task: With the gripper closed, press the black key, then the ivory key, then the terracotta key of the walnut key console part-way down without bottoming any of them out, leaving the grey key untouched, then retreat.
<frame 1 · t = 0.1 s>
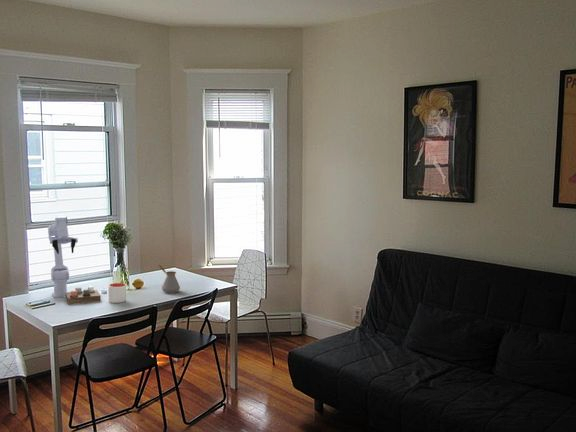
hand: (65, 252, 311), 32 cm above the table, tool tilted 50°, fingers open, 7 cm apart
cup: (117, 301, 331), on the table
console: (82, 299, 331), on the table
key grey: (78, 290, 333), point 5 cm above the table, slide at 0.0 cm
key terracotta: (73, 294, 325), point 5 cm above the table, slide at 0.0 cm
key ivory: (90, 289, 336), point 5 cm above the table, slide at 0.0 cm
key black: (86, 293, 328), point 5 cm above the table, slide at 0.0 cm
coffee pot: (166, 290, 359), on the table
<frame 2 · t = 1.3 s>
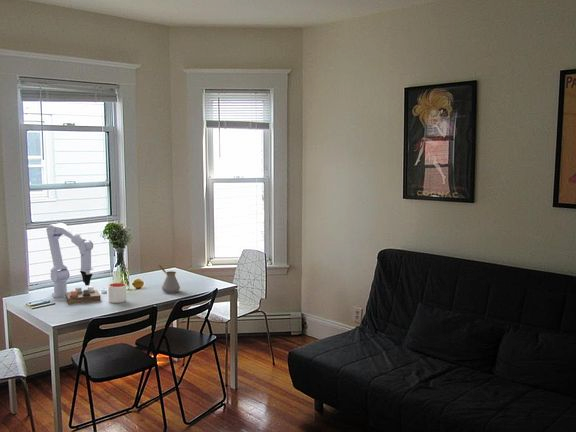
hand: (86, 283, 328), 10 cm above the table, tool pointing down, fingers open, 7 cm apart
nothing on the table moved.
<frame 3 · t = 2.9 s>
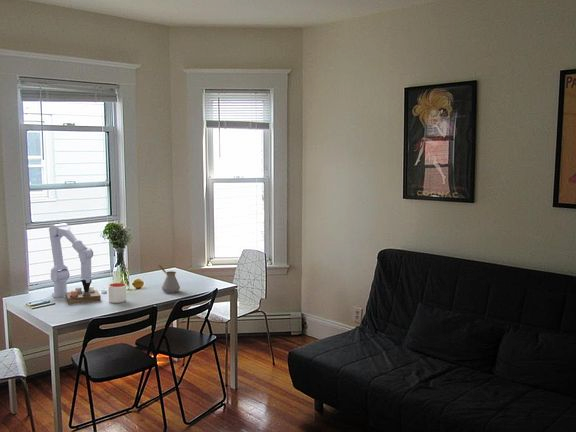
hand: (86, 291, 328), 6 cm above the table, tool pointing down, fingers closed, pressing on key black
key black: (86, 294, 329), point 4 cm above the table, slide at 1.0 cm, touching gripper
everything else where it was.
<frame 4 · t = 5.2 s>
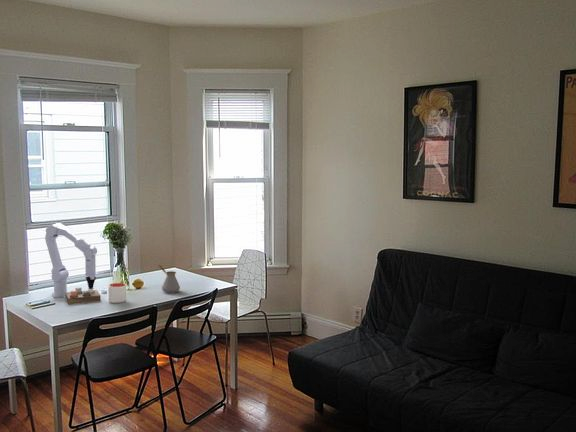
hand: (90, 288, 336), 6 cm above the table, tool pointing down, fingers closed, pressing on key ivory
key ivory: (90, 291, 336), point 4 cm above the table, slide at 1.0 cm, touching gripper
key black: (86, 295, 329), point 4 cm above the table, slide at 1.2 cm
everything else where it was.
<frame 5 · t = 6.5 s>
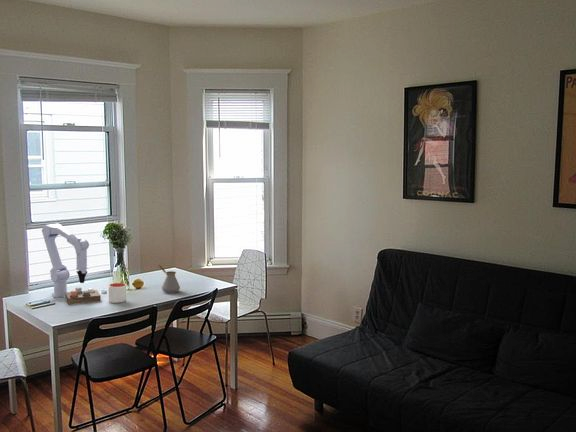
hand: (81, 282, 330), 10 cm above the table, tool pointing down, fingers closed
key ivory: (90, 291, 336), point 4 cm above the table, slide at 1.2 cm
everything else where it was.
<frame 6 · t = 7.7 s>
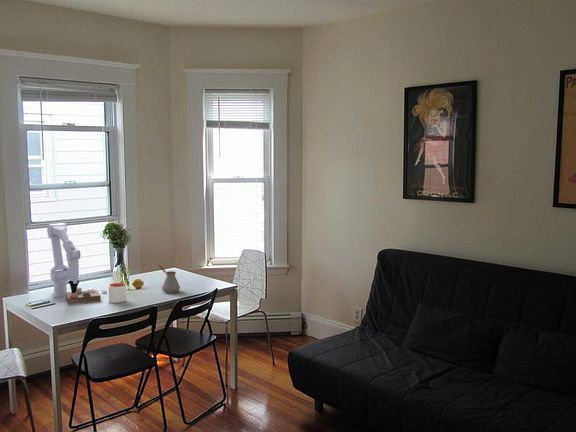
hand: (73, 292, 325), 6 cm above the table, tool pointing down, fingers closed, pressing on key terracotta
key terracotta: (73, 295, 325), point 4 cm above the table, slide at 0.9 cm, touching gripper
everything else where it was.
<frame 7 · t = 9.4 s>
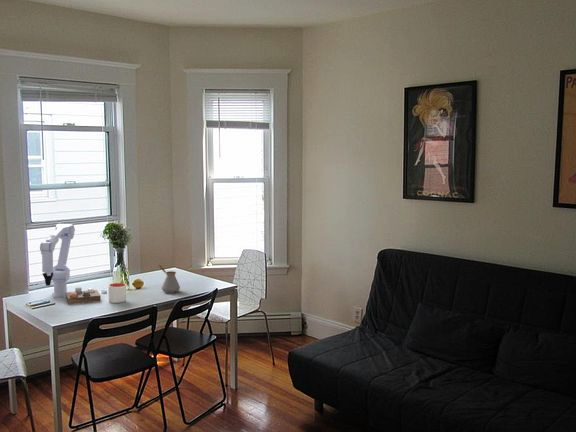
hand: (48, 285, 322), 10 cm above the table, tool pointing down, fingers closed
key terracotta: (73, 296, 325), point 4 cm above the table, slide at 1.2 cm
everything else where it was.
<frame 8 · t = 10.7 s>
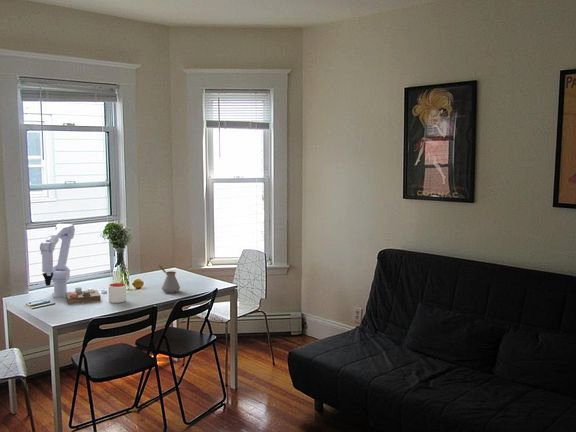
hand: (48, 285, 322), 10 cm above the table, tool pointing down, fingers closed
nothing on the table moved.
at the end: key black slide at 1.2 cm; key ivory slide at 1.2 cm; key terracotta slide at 1.2 cm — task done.
